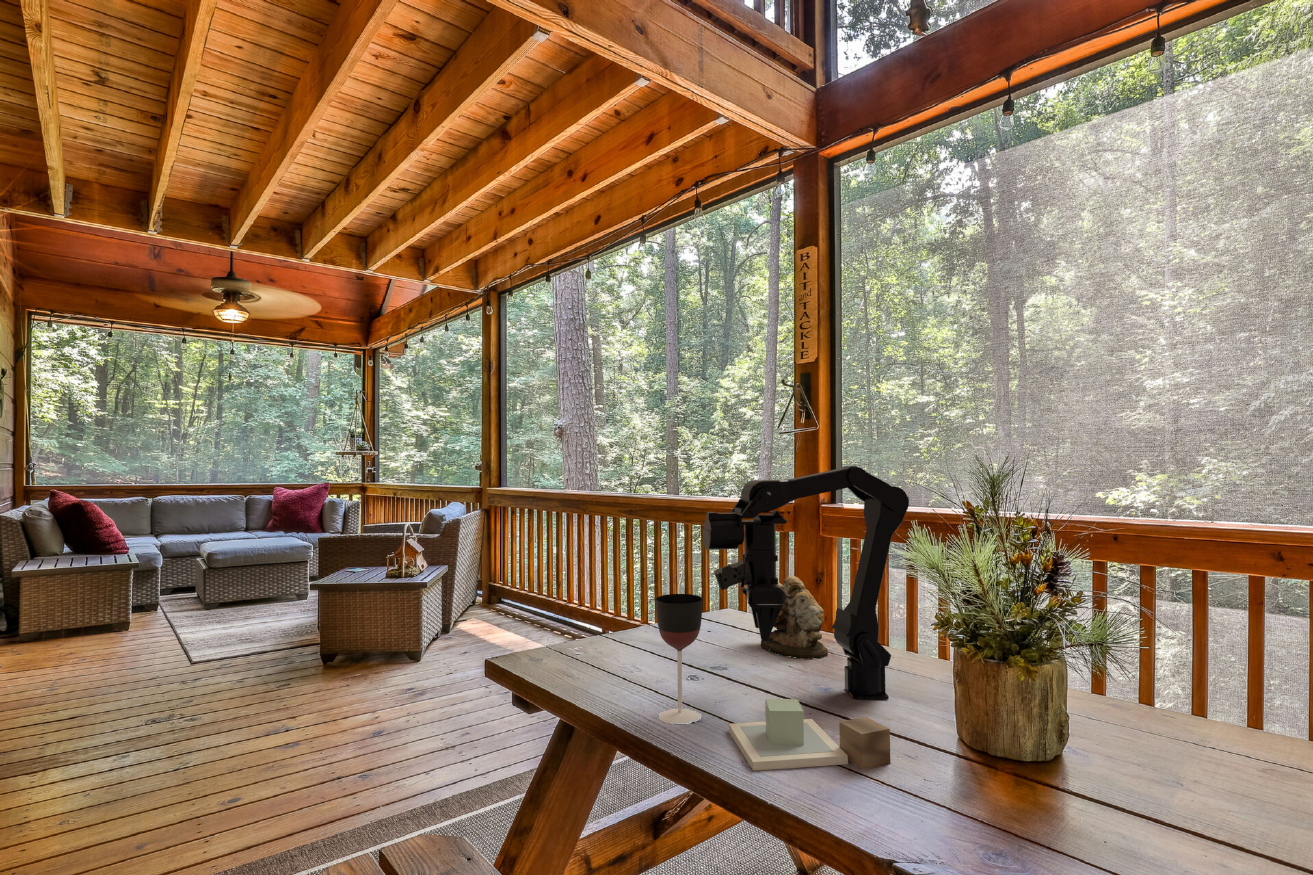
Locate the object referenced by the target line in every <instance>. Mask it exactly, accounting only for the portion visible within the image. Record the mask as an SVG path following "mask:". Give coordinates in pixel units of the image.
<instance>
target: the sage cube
mask: <svg viewBox="0 0 1313 875" xmlns="http://www.w3.org/2000/svg"><path fill="white" fill-rule="evenodd" d="M764 704H765V722H766V734H767V737H768V740H769V743H770V745H804V723H803V719H804V709H803V707H802V706H801V703H800V702H799V700H798V698H795V699H793V698H792V699H791V698H790V699H789V698H783V699H781V698H765V703H764Z"/></svg>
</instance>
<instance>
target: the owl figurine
mask: <svg viewBox="0 0 1313 875" xmlns="http://www.w3.org/2000/svg"><path fill="white" fill-rule="evenodd" d="M777 585H778V586H779V587H780V588H781V589H782V590H783V591H784V592H785V604H783V608H782V609H781V611H780V613H779V615H778V617H777V620H776V622H775V624H774V626H773V628H775V629H774V630H772V631H771V634H770V636H769V638H768V640H767V641H762V640H761V639H760V647H761V649H763V650H765V651H766V652H770V653H771V654H774V655H777V654H779V655H778V656H781V655H782V656H783V657H786V656H791V657H790V658H792V657H796V658H795V659H800V658H810V659H811V658H812V659H813V658H818V659H821V657H823V658H825V657H824V656H826V657H827V656H828V654H829V650H828V648H827V647H826V646H825V645H824V644H823V643H822V642H820V641H819V640H821V639H822V638H823V633H821V632H820V631H821V630H822V627H823V624H824V621H825V619H824V617H825V614H824V611H825V610H824V609H823V608H822V607H821V606H820V605H819V603H818V601H816V599H815V598H814V595H812V594H811V592H810V591H809V590H808V589H807V588H805V587H806V586H805V584H804V583H803V581H802V580H801V579H800V578H799V577H797V576H795V575H791V576H787V577H786V578H784V580H783V584H782V583H780V582H778V584H777Z"/></svg>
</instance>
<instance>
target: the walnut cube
mask: <svg viewBox="0 0 1313 875" xmlns="http://www.w3.org/2000/svg"><path fill="white" fill-rule="evenodd" d="M838 724H839V725H838V726H839V727H838V728H839V729H838V730H839V731H838V732H839V747H840V748H841V749H842V750H843V751H844V752H845V753H846V754H847V755H848V763H849V762H850V763H851V764H853V765H854V766H856V767H857V768H858V769H860V770H862V771H863V770H867V769H872V768H877V767H881V766H886V765H891V763H892V762H891V729H890V727H887V726H885V725H883V724H881V723H879V722H877V721H876V720H874V719H871V718H869V717H868V716H862V717H857V718H852V719H847V720H842V721H839V722H838Z"/></svg>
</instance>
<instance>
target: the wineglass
mask: <svg viewBox="0 0 1313 875" xmlns="http://www.w3.org/2000/svg"><path fill="white" fill-rule="evenodd" d="M655 607H656V609H655V610H656V621H657V627H658V631H659V635H660V637H661V639H662V640H663V642H665V643H666V644H667V645H669V646H670V647H672V648H674V649H675V650H677V655H676V656H677V657H676V658H677V660H676V661H677V662H676V663H677V671H676V672H677V708H678V709H675V708H671V709H672V710H668V709H667V710H668V711H665V710H663V711H664V712H663V713H661V712H660V713H659V714H662V715H660V717H659V718H658V719H659V720H660V721H661V722H663V721H665V722H664V723H666V724H669V723H689V722H690V721H696V719H700V720H702V718H701V717H699V716H700V715H698V714H699V713H700V712H699V713H696V711H697V710H695V711H691V710H692V709H691V710H689V709H690V708H685V709H682V708H683V664H682V663H683V661H682V660H683V654H682V652H683V650H684V649H686V648H687V647H688V646H689V647H690V646H691V644H693V643H694V642H695V641H696V640H697V638H698V636H699V634H700V631H701V626H702V619H703V618H702V616H703V597H702V596H699V595H697V594H691V593H669V594H663V595H659V596H657V597H655ZM667 722H668V723H667Z"/></svg>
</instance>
